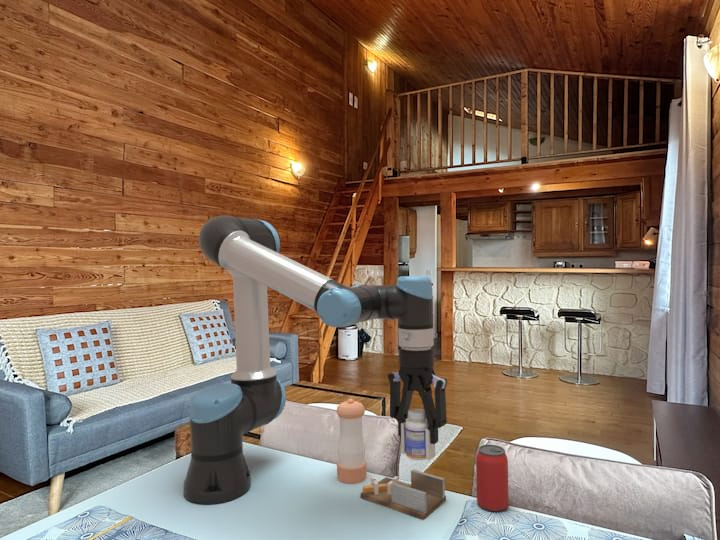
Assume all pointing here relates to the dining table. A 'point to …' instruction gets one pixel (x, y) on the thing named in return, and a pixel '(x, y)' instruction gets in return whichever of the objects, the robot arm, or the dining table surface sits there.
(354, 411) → the pepper shaker
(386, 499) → the board
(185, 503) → the dining table surface
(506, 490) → the beer can
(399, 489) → the end holder
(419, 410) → the pill bottle
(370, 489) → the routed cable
